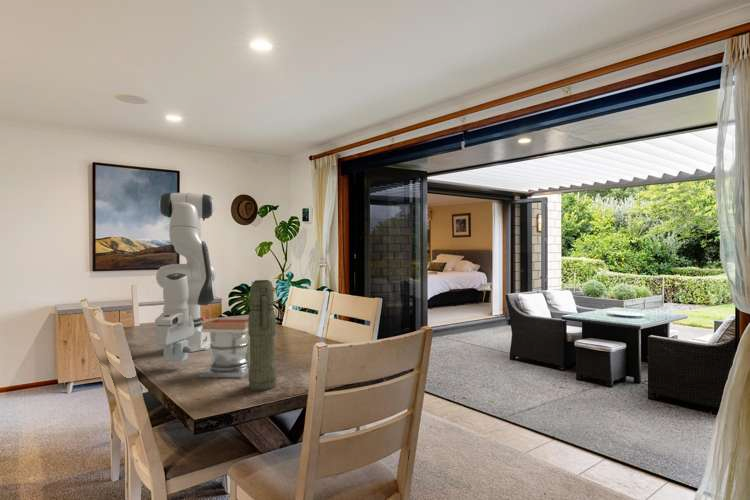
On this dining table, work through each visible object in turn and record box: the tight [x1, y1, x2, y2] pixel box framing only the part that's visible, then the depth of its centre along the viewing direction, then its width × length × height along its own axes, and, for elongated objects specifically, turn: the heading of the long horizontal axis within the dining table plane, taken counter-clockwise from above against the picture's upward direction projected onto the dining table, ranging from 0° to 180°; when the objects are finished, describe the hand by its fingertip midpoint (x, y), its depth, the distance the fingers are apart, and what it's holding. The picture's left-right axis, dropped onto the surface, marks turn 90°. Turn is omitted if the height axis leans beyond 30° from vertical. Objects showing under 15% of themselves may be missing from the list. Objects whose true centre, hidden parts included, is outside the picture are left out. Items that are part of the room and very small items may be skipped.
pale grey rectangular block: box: [163, 340, 192, 363], centre depth 169 cm, size 5×9×7 cm, turn 82°
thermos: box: [248, 279, 277, 392], centre depth 147 cm, size 9×12×35 cm
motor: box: [198, 318, 250, 379], centre depth 166 cm, size 16×16×19 cm
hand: (176, 352), depth 170 cm, fingers closed on pale grey rectangular block, 5 cm apart
